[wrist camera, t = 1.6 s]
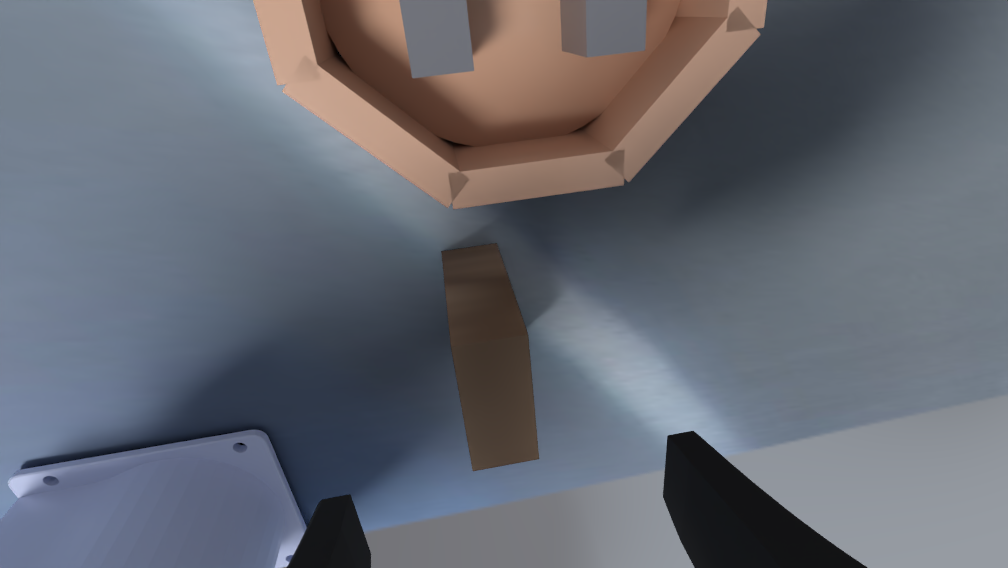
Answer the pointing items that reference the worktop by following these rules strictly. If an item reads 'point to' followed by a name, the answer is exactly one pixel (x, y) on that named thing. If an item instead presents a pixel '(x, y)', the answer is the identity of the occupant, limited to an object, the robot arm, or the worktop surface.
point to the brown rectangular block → (490, 358)
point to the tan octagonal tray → (506, 84)
